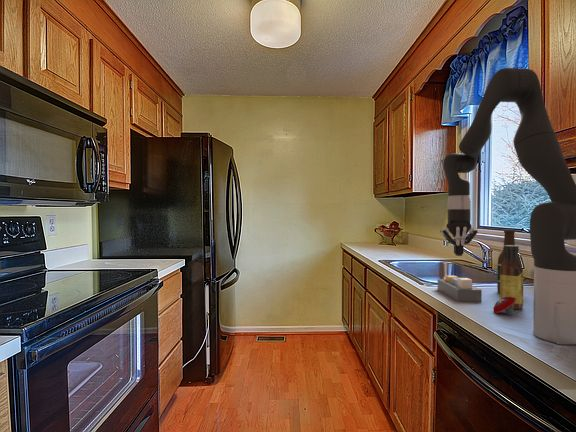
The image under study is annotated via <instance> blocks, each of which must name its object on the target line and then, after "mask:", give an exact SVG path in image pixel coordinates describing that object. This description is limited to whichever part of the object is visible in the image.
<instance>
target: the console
mask: <svg viewBox="0 0 576 432" xmlns="http://www.w3.org/2000/svg"><path fill="white" fill-rule="evenodd" d="M437 291H439V292H441V293H443V294H444V295H446V296H448V297H449V298H451V299H454V301H456V302H482V296H483V295H482V292H483V291H482V289H480V288H478V287H476V286H474V285H472V289H461V288H459V287H458V285H453V284H451V282H447V281H446V278H445V279H442V278H440V279H439V278H437Z"/></svg>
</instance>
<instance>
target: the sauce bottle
mask: <svg viewBox="0 0 576 432" xmlns="http://www.w3.org/2000/svg"><path fill="white" fill-rule="evenodd" d="M503 247H504V261H503V263H502V264H501V266H500V293H499V297H500V298H499V300H500V299H502V298H504V297H514V298H516V301H515V303H514V304H513V305H511V306H510V307H511V308H513V309H514V310H521V309H523V306H524V305H523V304H524V270H523V268H522V263H521V264H520V262H519V259H518V255H519V250H520V248H519V246H518V245H515V246H514V245H504V244H503Z"/></svg>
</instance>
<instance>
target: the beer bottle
mask: <svg viewBox="0 0 576 432" xmlns="http://www.w3.org/2000/svg"><path fill="white" fill-rule="evenodd" d="M503 233H504V235H503V236H504V238H503V239H504V240H503V248H502V251H501V252H500V253H499V255H498V258H497V282H496V283H497V287H496V288H497V293H498V294H500V266H501V264H502V263H503V261H504V245H514V246H516V244H515V243H516V242H515V233H516V231H515V229H508V228H506V229H504V230H503ZM518 259H519V262H520V264H521V265H522V263H521V257H520V255H519V254H518Z"/></svg>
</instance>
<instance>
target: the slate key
mask: <svg viewBox="0 0 576 432" xmlns="http://www.w3.org/2000/svg"><path fill="white" fill-rule="evenodd" d="M451 284H453V285H458V278H451Z"/></svg>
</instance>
